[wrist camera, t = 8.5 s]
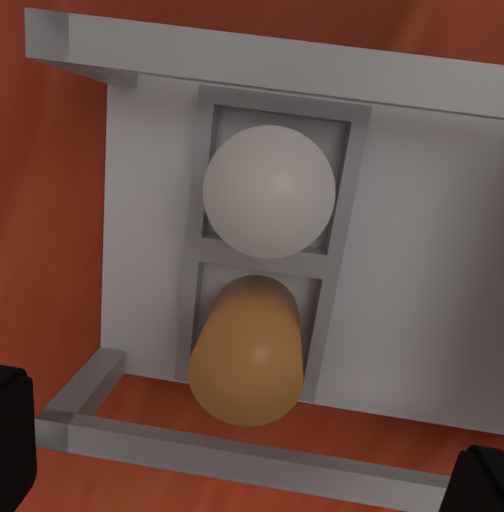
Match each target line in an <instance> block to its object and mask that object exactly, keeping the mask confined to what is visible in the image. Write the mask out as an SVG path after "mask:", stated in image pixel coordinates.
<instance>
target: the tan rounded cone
mask: <svg viewBox="0 0 504 512" xmlns="http://www.w3.org/2000/svg"><path fill="white" fill-rule="evenodd" d="M188 382H189V385H190V389H191V391H192V393H193V395H194V397H195V399H196V400H197V402H198V403H199V404H200V406H201V407H202V408H203V409H204V410H205V411H207V412H208V413H209V414H210V415H212V416H213V417H215V418H217V419H218V420H221V421H223V422H225V423H228V424H231V425H235V426H242V427H256V426H262V425H266V424H269V423H272V422H274V421H276V420H278V419H280V418H281V417H283V416H284V415H286V414H287V413H288V412H289V411H290V410H291V409H292V408H293V407H294V405H295V404H296V402H297V401H298V399H299V397H300V394H301V391H302V387H303V363H302V349H301V334H300V319H299V309H298V305H297V302H296V300H295V298H294V296H293V294H292V293H291V291H290V290H289V289H288V288H287V287H286V286H285V285H284V284H282V283H281V282H279V281H278V280H276V279H274V278H271V277H268V276H264V275H247V276H243V277H239V278H237V279H235V280H233V281H232V282H230V283H229V284H227V285H226V286H225V287H224V288H223V289H222V291H221V292H220V294H219V295H218V297H217V299H216V302H215V304H214V306H213V308H212V310H211V313H210V315H209V317H208V319H207V321H206V323H205V326H204V328H203V330H202V332H201V334H200V337H199V339H198V341H197V343H196V345H195V348H194V350H193V352H192V354H191V357H190V360H189V364H188Z"/></svg>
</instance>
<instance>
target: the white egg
mask: <svg viewBox="0 0 504 512" xmlns="http://www.w3.org/2000/svg"><path fill="white" fill-rule="evenodd" d="M203 203H204V207H205V211H206V214H207V217H208V219H209V221H210V223H211V225H212V227H213V228H214V230H215V231H216V233H217V234H218V235H219V236H220V237H221V238H222V240H224V241H225V242H226V243H227V244H228V245H229V246H231V247H232V248H234V249H235V250H237V251H239V252H241V253H243V254H246V255H249V256H252V257H257V258H266V259H271V258H281V257H286V256H289V255H292V254H294V253H297V252H299V251H301V250H302V249H304V248H306V247H307V246H308V245H310V244H311V243H312V242H313V241H315V239H316V238H317V237H318V236H319V235H320V234H321V233H322V231H323V230H324V229H325V227H326V225H327V223H328V222H329V219H330V217H331V214H332V212H333V208H334V203H335V181H334V176H333V172H332V169H331V167H330V164H329V162H328V160H327V158H326V157H325V155H324V154H323V152H322V151H321V150H320V149H319V147H318V146H317V145H316V144H315V143H314V142H313V141H311V140H310V139H309V138H307V137H306V136H305V135H303V134H301V133H299V132H297V131H295V130H292V129H290V128H287V127H282V126H275V125H263V126H256V127H252V128H249V129H246V130H243V131H241V132H239V133H237V134H235V135H234V136H232V137H231V138H229V139H228V140H227V141H226V142H225V143H224V144H222V145H221V146H220V148H219V149H218V150H217V151H216V153H215V154H214V156H213V157H212V159H211V160H210V163H209V165H208V167H207V170H206V173H205V176H204V182H203Z"/></svg>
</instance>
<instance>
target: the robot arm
mask: <svg viewBox="0 0 504 512" xmlns="http://www.w3.org/2000/svg"><path fill="white" fill-rule="evenodd" d="M36 475H37V460H36V440H35V420H34V400H33V382H32V379H31V377H28V376H27V373H26V371H25V370H24V369H22V368H16V367H10V366H4V365H0V512H14V511H15V510H16V509H17V507H18V506H19V504H20V503H21V502H22V500H23V499H24V498H25V496H26V495H27V493H28V492H29V491H30V489H31V488H32V486H33V484H34V481H35V478H36ZM438 512H504V451H502V450H501V449H495V448H490V447H484V446H478V445H471V446H470V447H468V449H467V451H461V452H460V453H459V455H458V458H457V460H456V463H455V466H454V469H453V472H452V475H451V477H450V480H449V483H448V486H447V489H446V492H445V494H444V497H443V500H442V503H441V506H440V509H439V511H438Z"/></svg>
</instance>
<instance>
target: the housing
mask: <svg viewBox="0 0 504 512" xmlns="http://www.w3.org/2000/svg"><path fill="white" fill-rule="evenodd" d="M25 48H26V57H27V58H30V59H33V60H36V61H39V62H42V63H45V64H48V65H51V66H54V67H57V68H60V69H63V70H66V71H69V72H72V73H75V74H78V75H81V76H84V77H87V78H90V79H93V80H96V81H99V82H102V83H105V84H108V86H107V123H106V160H105V197H104V235H103V272H102V309H101V346H100V348H99V349H98V350H97V351H96V352H95V354H94V355H93V356H92V357H91V358H90V359H89V360H88V361H87V362H86V363H85V364H84V366H83V367H82V368H81V369H80V370H79V371H78V372H77V373H76V374H75V375H74V376H73V377H72V379H71V380H70V381H69V382H68V383H67V384H66V385H65V386H64V387H63V388H62V389H61V391H60V392H59V393H58V394H57V395H56V396H55V397H54V398H53V399H52V400H51V401H50V402H49V404H48V405H47V406H46V407H45V408H44V409H43V410H42V411H41V412H40V413H39V414H38V416H37V417H36V418H35V440H36V447H38V448H43V449H49V450H55V451H61V452H66V453H72V454H78V455H84V456H90V457H95V458H101V459H107V460H113V461H119V462H124V463H130V464H136V465H142V466H148V467H153V468H159V469H165V470H171V471H176V472H182V473H188V474H194V475H200V476H205V477H211V478H217V479H223V480H229V481H234V482H240V483H246V484H252V485H257V486H263V487H269V488H275V489H281V490H286V491H292V492H298V493H304V494H310V495H315V496H321V497H327V498H333V499H339V500H344V501H350V502H356V503H362V504H367V505H373V506H379V507H385V508H391V509H396V510H402V511H408V512H438V511H439V509H440V506H441V503H442V500H443V497H444V494H445V492H446V489H447V486H448V483H449V480H450V477H451V476H446V475H440V474H434V473H428V472H422V471H417V470H411V469H405V468H399V467H393V466H387V465H381V464H375V463H369V462H363V461H357V460H351V459H345V458H339V457H333V456H327V455H321V454H315V453H309V452H303V451H297V450H291V449H286V448H280V447H274V446H268V445H262V444H256V443H250V442H244V441H238V440H232V439H226V438H220V437H214V436H208V435H202V434H196V433H190V432H184V431H178V430H172V429H166V428H160V427H155V426H149V425H143V424H137V423H131V422H125V421H119V420H113V419H107V418H101V417H95V416H94V415H95V414H96V412H97V411H98V409H99V408H100V407H101V405H102V404H103V402H104V401H105V400H106V398H107V397H108V395H109V394H110V393H111V391H112V390H113V388H114V387H115V386H116V384H117V383H118V381H119V380H120V379H121V377H122V376H123V374H124V373H125V374H131V375H138V376H144V377H150V378H156V379H162V380H168V381H175V382H181V383H187V384H189V382H188V364H189V360H190V357H191V354H192V352H193V350H194V348H195V345H196V343H197V341H198V339H199V337H200V334H201V332H202V330H203V328H204V326H205V323H206V321H207V319H208V317H209V315H210V313H211V310H212V308H213V306H214V304H215V302H216V299H217V297H218V295H219V294H220V292H221V291H222V289H223V288H224V287H225V286H226V285H227V284H229V283H230V282H232V281H233V280H235V279H237V278H239V277H243V276H247V275H264V276H268V277H271V278H274V279H276V280H278V281H279V282H281V283H282V284H284V285H285V286H286V287H287V288H288V289H289V290H290V291H291V293H292V294H293V296H294V298H295V300H296V302H297V305H298V309H299V319H300V334H301V349H302V363H303V387H302V391H301V394H300V397H299V399H298V402H304V403H310V404H316V405H322V406H329V407H335V408H341V409H347V410H353V411H359V412H366V413H372V414H378V415H384V416H390V417H396V418H403V419H409V420H415V421H421V422H427V423H433V424H440V425H446V426H452V427H458V428H464V429H470V430H476V431H483V432H489V433H495V434H501V435H504V65H498V64H490V63H481V62H473V61H465V60H456V59H448V58H440V57H432V56H423V55H415V54H407V53H398V52H390V51H382V50H373V49H365V48H357V47H349V46H340V45H332V44H324V43H315V42H307V41H299V40H291V39H282V38H274V37H266V36H257V35H249V34H241V33H233V32H224V31H216V30H208V29H199V28H191V27H183V26H174V25H166V24H158V23H150V22H141V21H133V20H125V19H116V18H108V17H100V16H92V15H83V14H75V13H67V12H58V11H50V10H42V9H34V8H25ZM263 125H275V126H282V127H287V128H290V129H292V130H295V131H297V132H299V133H301V134H303V135H305V136H306V137H307V138H309V139H310V140H311V141H313V142H314V143H315V144H316V145H317V146H318V147H319V149H320V150H321V151H322V152H323V154H324V155H325V157H326V158H327V160H328V162H329V164H330V167H331V169H332V172H333V176H334V181H335V203H334V208H333V212H332V214H331V217H330V219H329V222H328V223H327V225H326V227H325V229H324V230H323V231H322V233H321V234H320V235H319V236H318V237H317V238H316V239H315V241H313V242H312V243H311V244H310V245H308V246H307V247H306V248H304V249H302V250H301V251H299V252H297V253H294V254H292V255H289V256H286V257H281V258H271V259H266V258H257V257H252V256H249V255H246V254H243V253H241V252H239V251H237V250H235V249H234V248H232V247H231V246H229V245H228V244H227V243H226V242H225V241H224V240H222V238H221V237H220V236H219V235H218V234H217V233H216V231H215V230H214V228H213V227H212V225H211V223H210V221H209V219H208V217H207V214H206V211H205V207H204V203H203V182H204V176H205V173H206V170H207V167H208V165H209V163H210V160H211V159H212V157H213V156H214V154H215V153H216V151H217V150H218V149H219V148H220V146H221V145H222V144H224V143H225V142H226V141H227V140H228V139H229V138H231V137H232V136H234V135H235V134H237V133H239V132H241V131H243V130H246V129H249V128H252V127H256V126H263Z"/></svg>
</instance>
